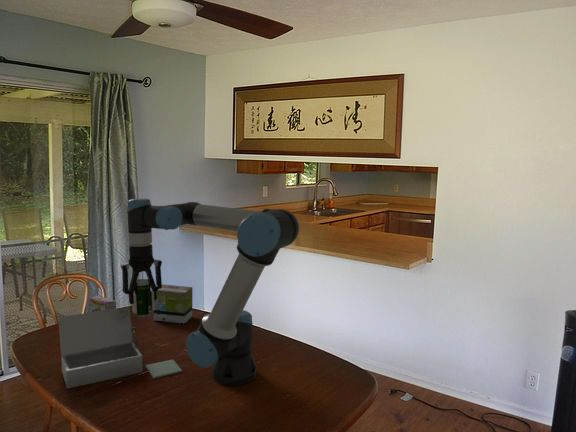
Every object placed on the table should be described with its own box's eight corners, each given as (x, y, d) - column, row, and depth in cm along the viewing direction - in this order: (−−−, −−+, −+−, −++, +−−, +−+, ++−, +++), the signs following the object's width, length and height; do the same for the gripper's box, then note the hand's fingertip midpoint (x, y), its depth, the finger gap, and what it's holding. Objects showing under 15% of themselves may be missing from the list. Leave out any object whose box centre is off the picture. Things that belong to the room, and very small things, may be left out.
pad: (182, 372, 164) (182, 370, 163) (153, 378, 158) (153, 376, 158) (172, 360, 172) (172, 359, 172) (145, 366, 167) (145, 365, 167)
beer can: (153, 312, 163) (152, 278, 162) (149, 317, 158) (147, 282, 157) (137, 312, 163) (136, 278, 162) (133, 317, 158) (131, 282, 157)
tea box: (153, 321, 211) (152, 289, 209) (162, 314, 221) (162, 283, 219) (184, 324, 208) (184, 292, 206) (193, 316, 218) (193, 286, 216)
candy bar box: (89, 336, 192) (88, 298, 190) (100, 332, 196) (99, 295, 194) (106, 343, 186) (105, 303, 184) (117, 339, 190) (116, 300, 188)
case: (146, 371, 163) (145, 320, 161) (66, 388, 150) (64, 334, 148) (133, 351, 179) (132, 305, 176) (60, 366, 165) (58, 316, 163)
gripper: (163, 240, 166) (165, 303, 169) (109, 245, 156) (113, 313, 159) (170, 243, 160) (173, 309, 162) (115, 249, 150) (118, 319, 152)
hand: (143, 310), depth 161 cm, fingers closed on beer can, 5 cm apart
